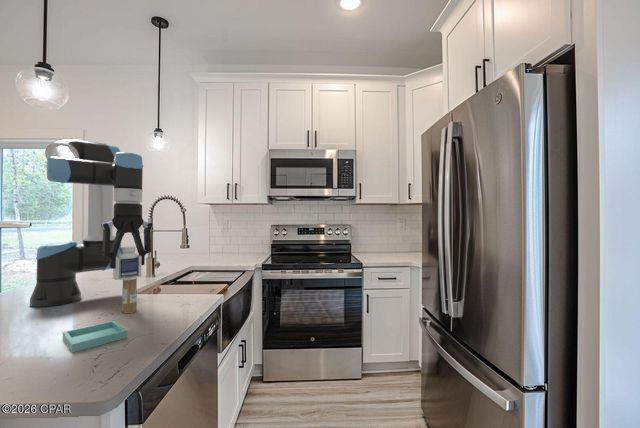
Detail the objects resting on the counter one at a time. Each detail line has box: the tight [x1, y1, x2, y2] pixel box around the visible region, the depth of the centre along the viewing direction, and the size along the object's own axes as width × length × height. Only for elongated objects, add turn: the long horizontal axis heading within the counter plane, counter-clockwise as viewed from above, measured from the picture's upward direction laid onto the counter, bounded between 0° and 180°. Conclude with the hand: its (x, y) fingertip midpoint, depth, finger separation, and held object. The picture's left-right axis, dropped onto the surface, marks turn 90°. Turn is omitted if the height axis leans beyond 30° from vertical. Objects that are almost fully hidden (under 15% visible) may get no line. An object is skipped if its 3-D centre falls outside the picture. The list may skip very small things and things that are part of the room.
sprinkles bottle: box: [121, 277, 138, 314], centre depth 105 cm, size 5×5×14 cm
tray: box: [62, 320, 128, 353], centre depth 82 cm, size 12×12×2 cm
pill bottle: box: [118, 246, 139, 281], centre depth 92 cm, size 5×5×10 cm
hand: (127, 277), depth 92 cm, fingers closed on pill bottle, 5 cm apart
